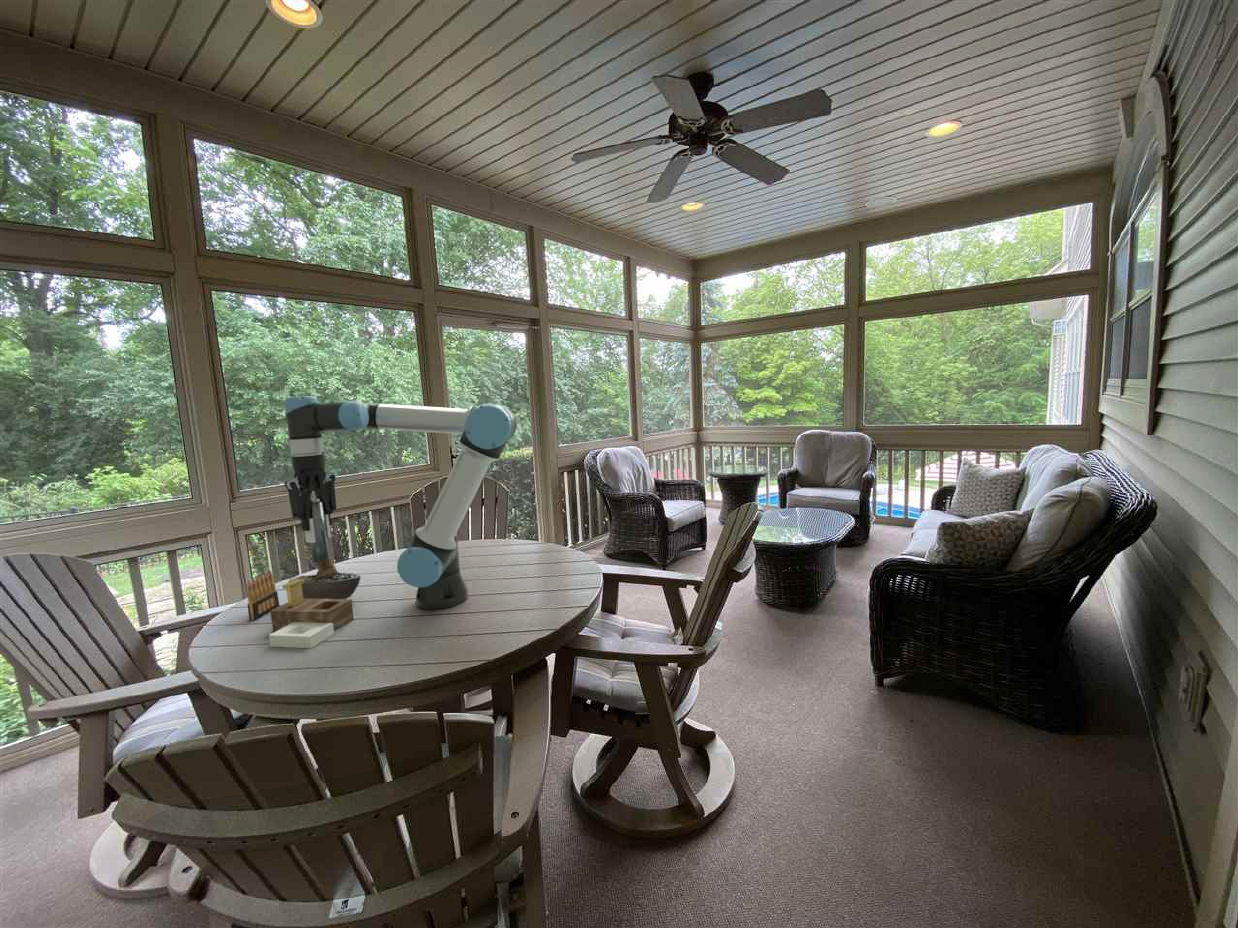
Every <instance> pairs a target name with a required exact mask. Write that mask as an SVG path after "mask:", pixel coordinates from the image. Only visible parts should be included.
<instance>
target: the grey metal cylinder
mask: <svg viewBox="0 0 1238 928" xmlns="http://www.w3.org/2000/svg"><path fill="white" fill-rule="evenodd" d="M310 518H313V523H314V531H315V539H316V542H314V543H310V542H309V543H310V551H311V558H312V562H313V563H317V562H321V561H326V560H328V559H330V558H329V556H330V553H329V543H328V538H327V534H326V526H325V518H324V510H323V502H322V501H320V499H317V498H311V504H310Z"/></svg>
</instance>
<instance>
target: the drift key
mask: <svg viewBox="0 0 1238 928" xmlns="http://www.w3.org/2000/svg"><path fill="white" fill-rule="evenodd" d="M302 583H305V582H304V579H296V580H293V581H291V582H289V581H288V582H287V583H284V584H282V590H285V591H286V597H287V602H288V606H289V608H293V607H295V606H297V605H299V604H301V603H303V602H304V600H303V592H302Z"/></svg>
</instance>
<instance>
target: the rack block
mask: <svg viewBox="0 0 1238 928" xmlns="http://www.w3.org/2000/svg"><path fill="white" fill-rule="evenodd" d="M333 635H335V631H334V628H333V623H312V622H293V623H291V624H289V625H287V626H285V627H283V628H282V629H280V630H278V631H276V632H272V633H270V634H269V635H268V638H269V644H270V645H269V646H270V647H277V648H278V647H279V648H296V649H297V648H299V649H300V648H301V649H302V648H303V649H312V648H314V647H316V646H317V645H318V644H320V643H322V642H323V641H325V640H327V639H328V638H330V637H331V636H333Z"/></svg>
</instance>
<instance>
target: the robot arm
mask: <svg viewBox="0 0 1238 928" xmlns="http://www.w3.org/2000/svg"><path fill="white" fill-rule="evenodd" d="M284 409H285V411H284V412H285V413H284V415H285V418H286V419H285V420H286V425H287V430H288V439H289V441H288V442H289V448H290V454H291V455H292V457H291V463H292V469H293V471H294V476H293V479H292V480H289V481H285V482H284V487H285V488H286V490H287V492H288V498H289V503H290V510H291V516H292V518H293V519H299V520H300V525H301V530H302V532H304V536H305V537H304V538H305V543H314V542H316V539H315V531H314V523H313V518H310V504H311V499H312V493H313V492H314V494H315V495H314V496H315V499H320V501H322V502H323V510H324V518H325V526H326V534H327V539H331V537H332V535H331V527H330V526H331V525H332V520H331V517H332V516H331V514H333V513H334V511H336V510H337V501H336V488H335V482H336V475H335V474H329V473H327V472H326V470H325V468H326V460H325V455H324V454H323V452H324V451H325V448H324V443H323V442H324V440H323V436H322V432H331V431H333V432H334V431H339V432H340V431H358V430H363V429H368V430H387V431H389V430H390V431H403V432H404V431H405V432H406V431H407V432H419V433H420V432H422V433H437V434H439V433H440V434H449V435H450V434H451V435H452V434H453V435H461V437H460V439H459V441H458V443H459V446H460V452H459V453H458V455H457V457H456V460H455V462H454V464H453V466H452V468H451V470H450V472H449V474H448V475H447V478H446V481H445V482H444V484H443V487H442V489H441V490H440V493H439V495H438V497H437V499H436V501H435V503H434V505H433V507H432V509H431V511H430V514H429V516H428V518H427V519H426V522H425V524H424V525H423V526H420V527H418V528H416V529H415V531H414V533H413V535H412V537H411V538H410V539H411V540H410V542H409V544H407V545H408V546H407V547H406V549H405V550H403V552H402V553H400V556H399V557H398V560H397V564H396V566H397V567H396V568H397V573H398V575H399V577H400V579H402V581H403V582H404V583H406V584H407V585H409V586H411V587H415V588H417V591H416V594H415V595H416V596H415V602H416V606H417V607H418V608H420V609H424V610H438V609H440V610H441V609H446V608H449V607H454V606H457V605H458V604H459V605H460V604H461V603H463V602H464V601H466V600H467V599H468V597H469V590H468V587H467V585H466V582H465V580H464V578H463V576H462V574H461V567H460V555H459V553H460V552H459V545H458V544H459V543H458V530H459V529H460V527H461V524H462V522H463V521H464V519H465V516H466V514H467V512H468V510H469V508H470V506H471V504H472V502H473V500H474V499H475V497H476V494H477V492H478V489H479V488H480V485H481V484H482V481H484V480H483V479H484V478H485V475H486V474H487V471H488V469H489V467H490V465H491V464H492V463H493V462H496V461H499V459H500V457H501V456H502V454H503V451H504V449H505V448H506V445H507V444H508V441H509V440H511V439H512V438H513V437H514V435H515V434H516V432H517V431H516V430H517V426H518V424H517V419H516V416H515V413H514V412H513V411H512V410H511V409H510V408H508V406H505V405H502V404H499V403H498V404H497V403H488V402H487V403H486V402H485V403H483V404H480V405H478V406H477V405H471V406H470V407H469V408H459V407H458V408H456V407H441V406H426V405H425V406H424V405H411V404H410V405H409V404H396V403H395V404H390V403H375V402H367V401H364V402H363V401H355V400H354V401H353V400H352V401H351V400H349V401H348V400H347V401H336V402H324V403H323V402H319V401H318V398H317V397H316V396H312V395H303V396H289V397H287V398H285V400H284Z"/></svg>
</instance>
